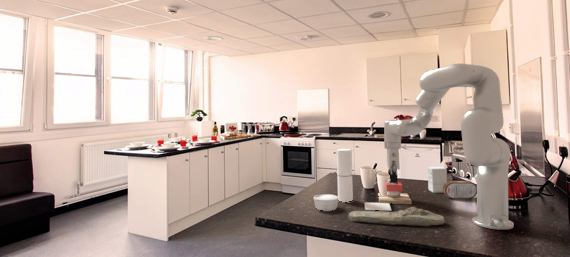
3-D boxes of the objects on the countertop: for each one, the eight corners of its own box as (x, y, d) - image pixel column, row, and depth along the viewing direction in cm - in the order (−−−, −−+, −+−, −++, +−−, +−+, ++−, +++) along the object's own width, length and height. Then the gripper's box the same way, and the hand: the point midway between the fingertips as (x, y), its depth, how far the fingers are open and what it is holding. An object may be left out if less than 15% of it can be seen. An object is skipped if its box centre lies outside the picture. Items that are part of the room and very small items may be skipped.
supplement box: (442, 189, 169) (442, 166, 168) (447, 192, 161) (447, 168, 161) (428, 189, 170) (427, 166, 169) (432, 192, 162) (432, 168, 162)
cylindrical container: (337, 202, 150) (336, 150, 150) (338, 198, 157) (337, 149, 157) (352, 202, 149) (351, 150, 148) (353, 198, 156) (351, 148, 155)
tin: (475, 197, 151) (475, 180, 151) (478, 199, 148) (478, 181, 148) (442, 197, 153) (442, 180, 152) (445, 199, 150) (445, 181, 149)
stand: (411, 204, 143) (411, 184, 143) (379, 203, 146) (379, 184, 146) (407, 196, 157) (406, 178, 157) (378, 195, 160) (377, 178, 160)
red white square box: (402, 191, 147) (402, 185, 147) (386, 191, 149) (386, 184, 149) (400, 187, 154) (400, 181, 154) (385, 187, 156) (385, 181, 156)
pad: (391, 211, 134) (391, 210, 134) (365, 210, 136) (364, 209, 136) (389, 204, 145) (389, 203, 145) (364, 203, 147) (364, 202, 147)
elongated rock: (349, 218, 130) (348, 228, 121) (348, 206, 130) (347, 215, 120) (441, 218, 121) (447, 228, 112) (440, 205, 121) (446, 214, 111)
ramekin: (320, 203, 149) (319, 193, 149) (342, 206, 143) (342, 195, 143) (309, 210, 139) (309, 198, 139) (333, 213, 134) (332, 201, 133)
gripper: (403, 147, 142) (403, 184, 143) (398, 143, 158) (398, 177, 159) (385, 147, 143) (386, 184, 144) (383, 143, 160) (383, 176, 161)
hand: (392, 180), depth 152 cm, fingers open, 9 cm apart
